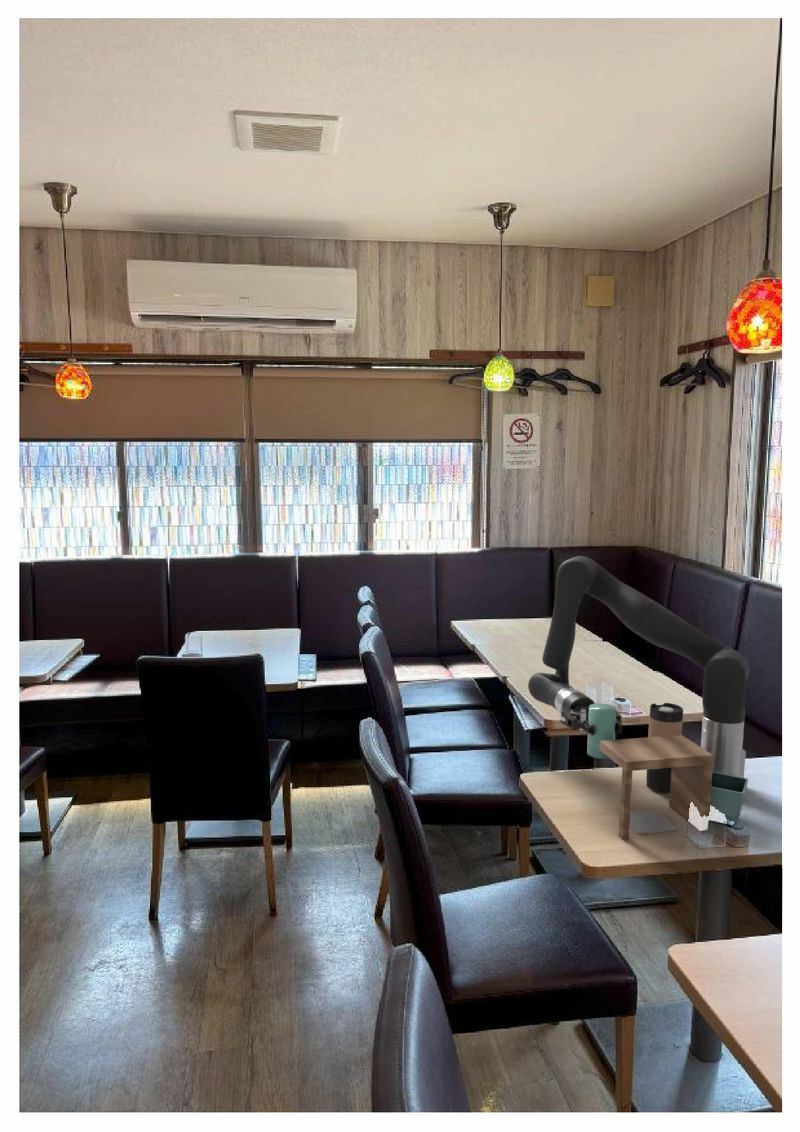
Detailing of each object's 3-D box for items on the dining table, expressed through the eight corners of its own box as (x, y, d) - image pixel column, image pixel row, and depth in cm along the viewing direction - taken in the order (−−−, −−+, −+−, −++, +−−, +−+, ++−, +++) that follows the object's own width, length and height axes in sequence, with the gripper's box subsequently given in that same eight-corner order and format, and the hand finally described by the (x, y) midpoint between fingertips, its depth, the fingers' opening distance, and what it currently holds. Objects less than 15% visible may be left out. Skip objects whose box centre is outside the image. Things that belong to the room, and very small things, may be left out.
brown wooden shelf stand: (677, 806, 180) (681, 734, 177) (708, 830, 168) (713, 754, 166) (596, 813, 175) (599, 740, 173) (622, 839, 164) (626, 762, 161)
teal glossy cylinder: (606, 747, 184) (608, 702, 183) (618, 757, 179) (620, 711, 177) (582, 749, 183) (584, 704, 182) (594, 759, 177) (596, 712, 176)
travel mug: (672, 796, 184) (677, 714, 182) (640, 788, 189) (645, 708, 186) (682, 786, 190) (688, 706, 188) (651, 777, 195) (656, 700, 192)
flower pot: (741, 833, 167) (744, 793, 166) (697, 823, 172) (700, 784, 170) (745, 816, 175) (748, 778, 174) (703, 807, 179) (706, 770, 178)
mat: (654, 811, 177) (654, 809, 177) (676, 830, 168) (676, 828, 168) (617, 815, 175) (618, 813, 175) (638, 834, 166) (638, 832, 166)
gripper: (548, 693, 192) (578, 716, 175) (602, 690, 195) (636, 712, 179) (547, 723, 193) (576, 748, 177) (601, 719, 196) (635, 743, 180)
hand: (606, 730), depth 178 cm, fingers closed on teal glossy cylinder, 6 cm apart
